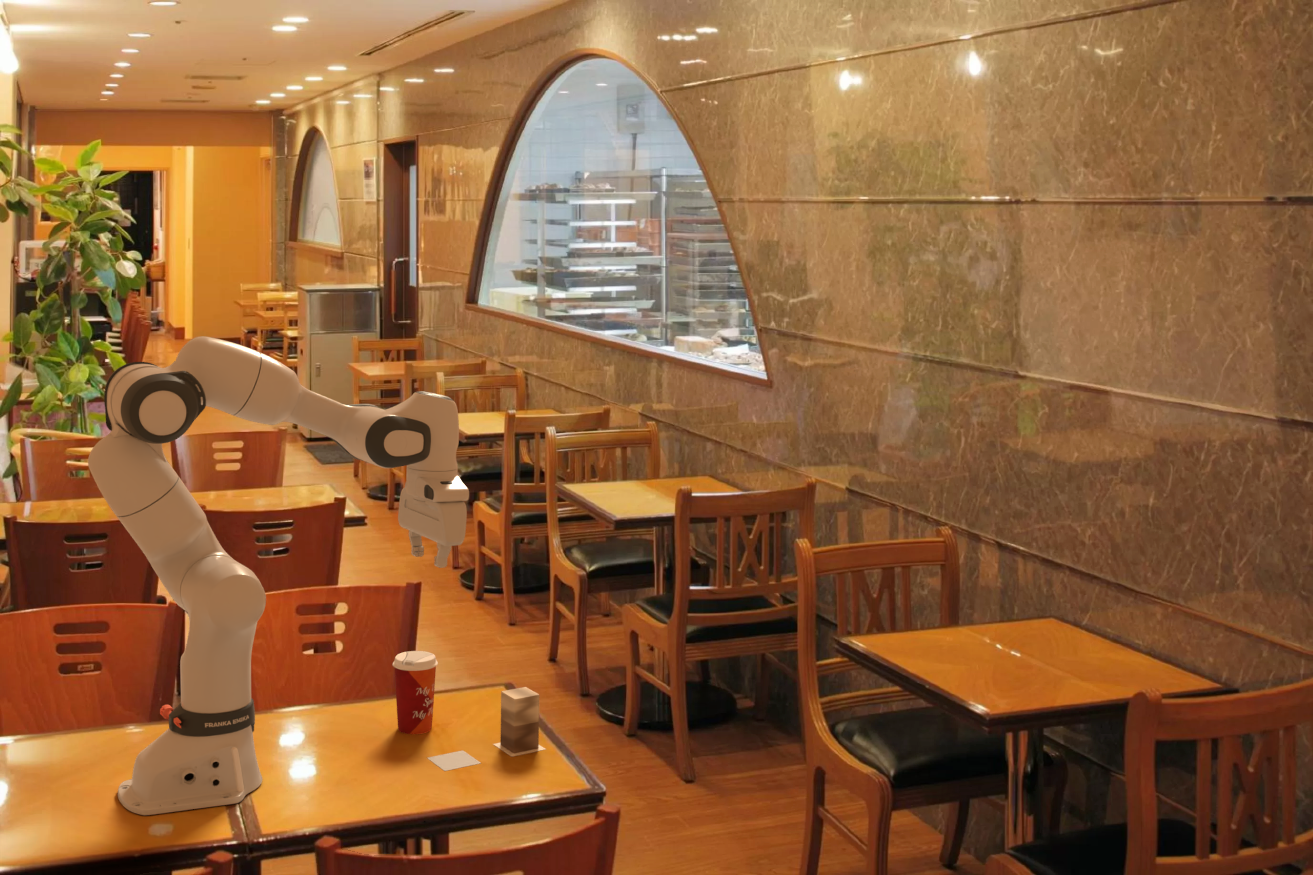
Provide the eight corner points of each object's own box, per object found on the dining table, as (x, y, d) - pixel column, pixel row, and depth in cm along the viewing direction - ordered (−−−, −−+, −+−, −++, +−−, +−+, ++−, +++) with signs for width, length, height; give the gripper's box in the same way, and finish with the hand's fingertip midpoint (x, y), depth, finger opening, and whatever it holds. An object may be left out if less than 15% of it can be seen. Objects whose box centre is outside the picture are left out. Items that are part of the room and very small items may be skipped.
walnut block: (513, 753, 238) (514, 726, 238) (500, 744, 242) (500, 718, 242) (538, 748, 241) (538, 721, 240) (524, 739, 245) (525, 713, 244)
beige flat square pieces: (451, 785, 226) (451, 778, 226) (415, 758, 238) (415, 751, 238) (563, 760, 239) (563, 753, 239) (524, 735, 250) (524, 729, 250)
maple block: (514, 726, 238) (514, 699, 237) (500, 718, 242) (501, 691, 241) (538, 721, 240) (539, 694, 240) (525, 713, 244) (525, 686, 244)
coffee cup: (427, 744, 245) (428, 664, 243) (385, 739, 246) (385, 660, 244) (444, 728, 253) (444, 651, 251) (402, 724, 254) (403, 647, 252)
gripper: (390, 475, 242) (388, 551, 244) (440, 494, 226) (437, 574, 227) (422, 474, 246) (420, 548, 248) (474, 492, 229) (470, 571, 231)
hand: (428, 561), depth 237 cm, fingers open, 8 cm apart
